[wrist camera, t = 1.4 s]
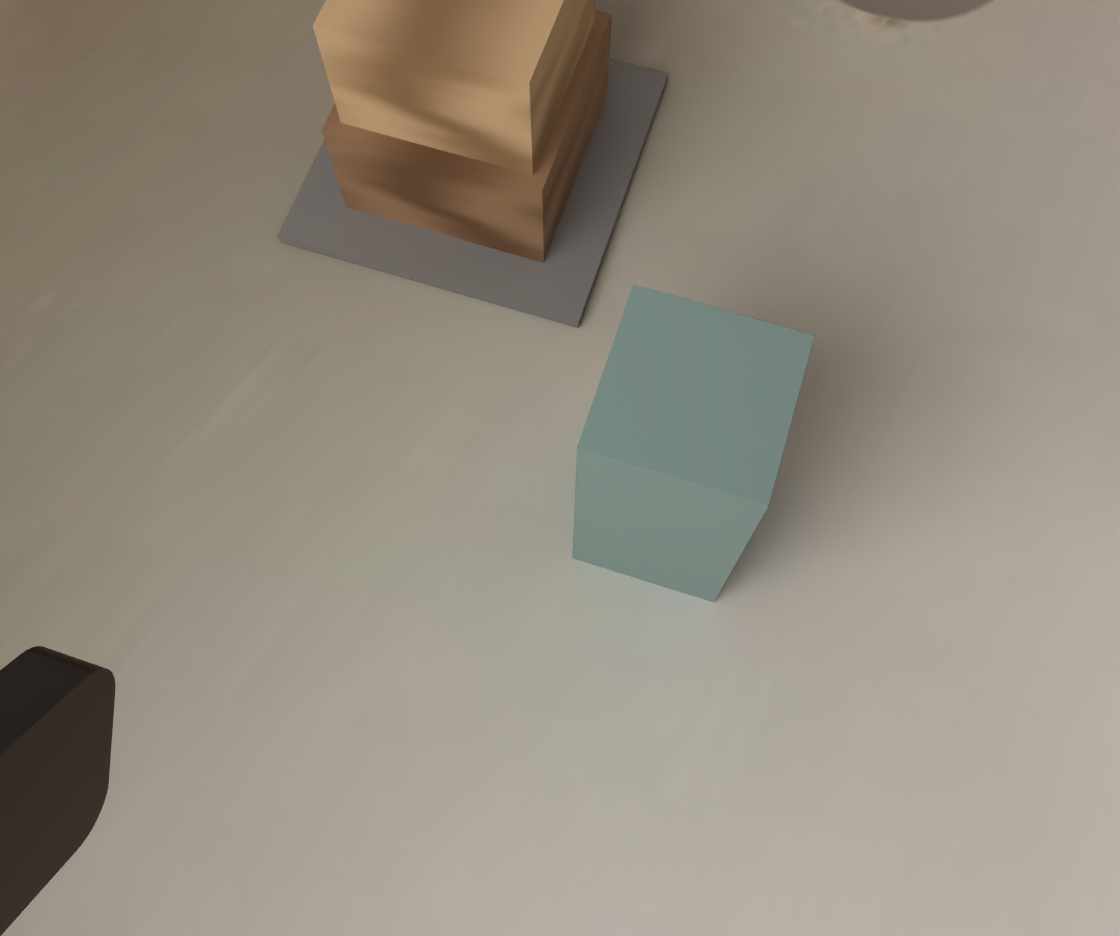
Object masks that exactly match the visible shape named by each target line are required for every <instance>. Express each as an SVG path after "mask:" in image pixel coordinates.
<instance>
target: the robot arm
mask: <svg viewBox="0 0 1120 936" xmlns="http://www.w3.org/2000/svg"><path fill="white" fill-rule="evenodd" d="M114 700H115V679H114V676H113V673H112V672H111V671H110V670H108V669H106V668H103V667H100V666H97V665H94V664H92V663H89V662H86V661H83V660H80V659H77V658H74V657H71V656H68V655H66V654H63V653H60V652H57V651H54V650H51V649H48V648H45V647H43V646H37V647H32V648H30V649H28V650H26V651H25V652H23V653H22V654H20V655H19V656H18V657H17V658H15V659H14V660H13V661H12V662H10V663H9V664H8V665H7V666H5V667H4V668H3V669H2V670H0V936H1V935H2V934H3V933H4V932H5V930H6V929H7V928H8V927H9V926H10V925H11V924H12V923H13V921H14V920H15V919H16V918H17V917H18V916H19V915H20V914H21V912H22V911H23V910H24V909H25V908H26V907H27V906H28V905H29V903H30V902H31V901H32V900H33V899H34V898H35V897H36V896H37V894H38V893H39V892H40V891H41V890H42V889H43V888H44V887H45V885H46V884H47V883H48V882H49V881H50V880H51V879H52V878H53V876H54V875H55V874H56V873H57V872H58V871H59V870H60V869H61V867H62V866H63V865H64V864H65V863H66V862H67V861H68V860H69V858H70V857H71V856H72V855H73V854H74V853H75V852H76V851H77V849H78V848H79V847H80V846H81V845H82V843H83V842H84V840H85V839H86V838H87V836H88V834H89V833H90V831H91V830H92V828H93V826H94V824H95V822H96V820H97V818H98V816H99V814H100V812H101V809H102V807H103V804H104V801H105V798H106V794H107V790H108V783H109V770H110V756H111V742H112V728H113V714H114Z"/></svg>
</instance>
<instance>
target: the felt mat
mask: <svg viewBox="0 0 1120 936" xmlns="http://www.w3.org/2000/svg"><path fill="white" fill-rule="evenodd" d="M667 78H668V74H667V73H663V72H659V71H655V70H651V69H647V68H643V67H639V66H636V65H632V64H628V63H624V62H620V61H616V60H612V59H609V67H608V83H607V99H606V102H605V105H604V107H603V110H602V112H601V115H600V118H599V120H598V123H597V125H596V128H595V131H594V133H593V136H592V139H591V141H590V144H589V146H588V149H587V152H586V154H585V157H584V159H583V162H582V165H581V167H580V170H579V172H578V175H577V178H576V180H575V183H574V186H573V188H572V191H571V193H570V196H569V199H568V201H567V204H566V206H565V209H564V212H563V214H562V217H561V219H560V222H559V225H558V227H557V230H556V233H555V235H554V238H553V240H552V243H551V246H550V248H549V251H548V253H547V256H546V259H545V261H544V263H542V262H539V261H535V260H532V259H528V258H524V257H521V256H517V255H514V254H510V253H507V252H503V251H500V250H496V249H493V248H489V247H486V246H482V245H478V244H475V243H471V242H468V241H464V240H461V239H457V238H454V237H450V236H447V235H443V234H439V233H436V232H432V231H429V230H425V229H422V228H418V227H415V226H411V225H408V224H404V223H401V222H397V221H393V220H390V219H386V218H383V217H379V216H376V215H372V214H369V213H365V212H362V211H358V210H355V209H351V208H347V207H346V205H345V202H344V199H343V195H342V192H341V189H340V186H339V183H338V180H337V176H336V173H335V170H334V167H333V164H332V161H331V158H330V154H329V151H328V148H327V145H326V142H325V140H324V142H323V144H322V146H321V148H320V150H319V152H318V154H317V156H316V158H315V160H314V162H313V164H312V166H311V168H310V171H309V173H308V175H307V177H306V179H305V181H304V183H303V185H302V187H301V189H300V191H299V193H298V195H297V197H296V199H295V201H294V203H293V205H292V207H291V209H290V211H289V213H288V215H287V217H286V219H285V221H284V223H283V225H282V227H281V229H280V231H279V233H278V235H277V236H278V238H279V240H280V242H283V243H287V244H290V245H294V246H297V247H301V248H304V249H308V250H311V251H315V252H318V253H322V254H325V255H328V256H332V257H335V258H339V259H342V260H346V261H349V262H353V263H356V264H360V265H363V266H367V267H370V268H374V269H377V270H380V271H384V272H387V273H391V274H394V275H398V276H401V277H405V278H408V279H412V280H415V281H419V282H422V283H426V284H429V285H432V286H436V287H439V288H443V289H446V290H450V291H453V292H457V293H460V294H464V295H467V296H471V297H474V298H478V299H481V300H484V301H488V302H491V303H495V304H498V305H502V306H505V307H509V308H512V309H516V310H519V311H523V312H526V313H530V314H533V315H536V316H540V317H543V318H547V319H550V320H554V321H557V322H561V323H564V324H568V325H571V326H575V327H579V324H580V321H581V318H582V316H583V313H584V310H585V307H586V304H587V302H588V299H589V296H590V293H591V291H592V288H593V285H594V282H595V279H596V277H597V274H598V271H599V268H600V266H601V263H602V260H603V257H604V255H605V252H606V249H607V246H608V243H609V241H610V238H611V235H612V232H613V230H614V227H615V224H616V221H617V218H618V216H619V213H620V210H621V207H622V205H623V202H624V199H625V196H626V193H627V191H628V188H629V185H630V182H631V180H632V177H633V174H634V171H635V169H636V166H637V163H638V160H639V157H640V155H641V152H642V149H643V146H644V144H645V141H646V138H647V135H648V132H649V130H650V127H651V124H652V121H653V119H654V116H655V113H656V110H657V107H658V105H659V102H660V99H661V96H662V94H663V91H664V88H665V85H666V83H667Z"/></svg>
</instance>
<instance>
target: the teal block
mask: <svg viewBox="0 0 1120 936" xmlns="http://www.w3.org/2000/svg"><path fill="white" fill-rule="evenodd" d="M814 336H815V335H811V334H808V333H804V332H801V331H797V330H794V329H790V328H787V327H783V326H779V325H776V324H772V323H769V322H765V321H762V320H758V319H755V318H751V317H748V316H744V315H740V314H737V313H733V312H730V311H726V310H723V309H719V308H716V307H712V306H709V305H705V304H701V303H698V302H694V301H691V300H687V299H684V298H680V297H677V296H673V295H670V294H666V293H662V292H659V291H655V290H652V289H648V288H645V287H641V286H638V285H634V284H633V287H632V290H631V293H630V296H629V299H628V302H627V304H626V307H625V310H624V313H623V316H622V319H621V322H620V325H619V328H618V331H617V333H616V336H615V339H614V342H613V345H612V348H611V351H610V354H609V357H608V360H607V362H606V365H605V368H604V371H603V374H602V377H601V380H600V383H599V386H598V389H597V391H596V394H595V397H594V400H593V403H592V406H591V409H590V412H589V415H588V418H587V420H586V423H585V426H584V429H583V432H582V435H581V438H580V441H579V444H578V446H577V462H576V485H575V508H574V531H573V554H572V558H574V559H577V560H581V561H584V562H587V563H590V564H593V565H596V566H600V567H603V568H606V569H609V570H612V571H616V572H619V573H622V574H625V575H628V576H632V577H635V578H638V579H641V580H644V581H648V582H651V583H654V584H657V585H660V586H663V587H667V588H670V589H673V590H676V591H679V592H683V593H686V594H689V595H692V596H695V597H699V598H702V599H705V600H708V601H711V602H714V601H715V599H716V598H717V596H718V594H719V592H720V591H721V589H722V587H723V585H724V584H725V582H726V580H727V578H728V577H729V575H730V573H731V571H732V569H733V568H734V566H735V564H736V562H737V561H738V559H739V557H740V555H741V554H742V552H743V550H744V548H745V547H746V545H747V543H748V541H749V540H750V538H751V536H752V534H753V532H754V531H755V529H756V527H757V525H758V524H759V522H760V520H761V518H762V517H763V515H764V513H765V511H766V510H767V508H768V506H769V503H770V499H771V496H772V492H773V488H774V484H775V481H776V477H777V473H778V470H779V466H780V462H781V458H782V455H783V451H784V447H785V444H786V440H787V436H788V432H789V429H790V425H791V421H792V418H793V414H794V410H795V406H796V403H797V399H798V395H799V392H800V388H801V384H802V380H803V377H804V373H805V369H806V366H807V362H808V358H809V354H810V351H811V347H812V343H813V340H814Z"/></svg>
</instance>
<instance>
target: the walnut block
mask: <svg viewBox="0 0 1120 936" xmlns="http://www.w3.org/2000/svg"><path fill="white" fill-rule="evenodd" d="M611 19H612V15H611V14H608V13H604V12H600V11H596V10H595V20H594V24H593V26H592V29H591V31H590V34H589V36H588V39H587V41H586V44H585V46H584V49H583V51H582V54H581V56H580V59H579V61H578V64H577V66H576V69H575V71H574V74H573V76H572V79H571V81H570V84H569V86H568V89H567V91H566V94H565V96H564V99H563V101H562V104H561V106H560V109H559V111H558V114H557V116H556V119H555V121H554V124H553V126H552V129H551V131H550V134H549V136H548V139H547V141H546V144H545V146H544V149H543V151H542V154H541V156H540V158H539V161H538V163H537V166H536V168H535V171H534V173H533V175H530V174H526V173H523V172H519V171H515V170H512V169H508V168H504V167H501V166H497V165H493V164H490V163H486V162H482V161H479V160H475V159H471V158H468V157H464V156H460V155H457V154H453V153H449V152H446V151H442V150H438V149H435V148H431V147H427V146H424V145H420V144H416V143H413V142H409V141H406V140H402V139H398V138H395V137H391V136H387V135H384V134H380V133H376V132H373V131H369V130H365V129H362V128H358V127H354V126H351V125H347V124H343V123H341V122H340V118H339V115H338V111H337V108H336V104H335V105H334V107H333V109H332V111H331V113H330V115H329V117H328V119H327V121H326V123H325V125H324V127H323V129H322V132H323V135H324V139H325V142H326V145H327V148H328V151H329V154H330V158H331V161H332V164H333V167H334V170H335V173H336V176H337V180H338V183H339V186H340V189H341V192H342V195H343V199H344V202H345V205H346V207H347V208H351V209H355V210H358V211H362V212H365V213H369V214H372V215H376V216H379V217H383V218H386V219H390V220H393V221H397V222H401V223H404V224H408V225H411V226H415V227H418V228H422V229H425V230H429V231H432V232H436V233H439V234H443V235H447V236H450V237H454V238H457V239H461V240H464V241H468V242H471V243H475V244H478V245H482V246H486V247H489V248H493V249H496V250H500V251H503V252H507V253H510V254H514V255H517V256H521V257H524V258H528V259H532V260H535V261H539V262H542V263H544V261H545V259H546V256H547V253H548V251H549V248H550V246H551V243H552V240H553V238H554V235H555V233H556V230H557V227H558V225H559V222H560V219H561V217H562V214H563V212H564V209H565V206H566V204H567V201H568V199H569V196H570V193H571V191H572V188H573V186H574V183H575V180H576V178H577V175H578V172H579V170H580V167H581V165H582V162H583V159H584V157H585V154H586V152H587V149H588V146H589V144H590V141H591V139H592V136H593V133H594V131H595V128H596V125H597V123H598V120H599V118H600V115H601V112H602V110H603V107H604V105H605V102H606V99H607V83H608V67H609V51H610V35H611Z"/></svg>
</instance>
